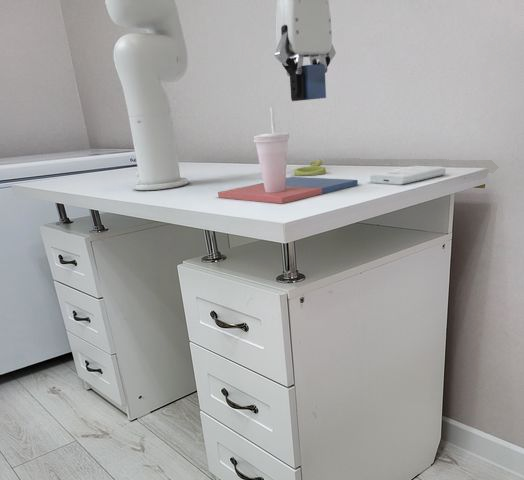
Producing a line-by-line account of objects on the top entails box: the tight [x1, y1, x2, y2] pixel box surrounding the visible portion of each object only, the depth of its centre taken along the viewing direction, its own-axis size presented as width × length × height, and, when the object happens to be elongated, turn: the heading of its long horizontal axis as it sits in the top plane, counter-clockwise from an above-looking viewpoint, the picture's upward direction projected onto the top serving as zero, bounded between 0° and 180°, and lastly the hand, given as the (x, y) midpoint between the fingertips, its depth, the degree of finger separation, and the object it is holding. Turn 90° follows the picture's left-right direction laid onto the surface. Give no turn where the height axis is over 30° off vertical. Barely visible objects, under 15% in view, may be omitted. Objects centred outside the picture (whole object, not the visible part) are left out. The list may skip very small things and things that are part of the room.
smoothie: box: [253, 106, 290, 192], centre depth 96 cm, size 6×6×14 cm
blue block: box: [291, 64, 327, 102], centre depth 98 cm, size 4×4×6 cm
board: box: [217, 176, 359, 204], centre depth 104 cm, size 18×20×1 cm
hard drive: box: [369, 165, 447, 186], centre depth 104 cm, size 2×8×12 cm
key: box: [294, 159, 327, 177], centre depth 128 cm, size 7×12×2 cm, turn 178°
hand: (308, 97), depth 99 cm, fingers closed on blue block, 4 cm apart
